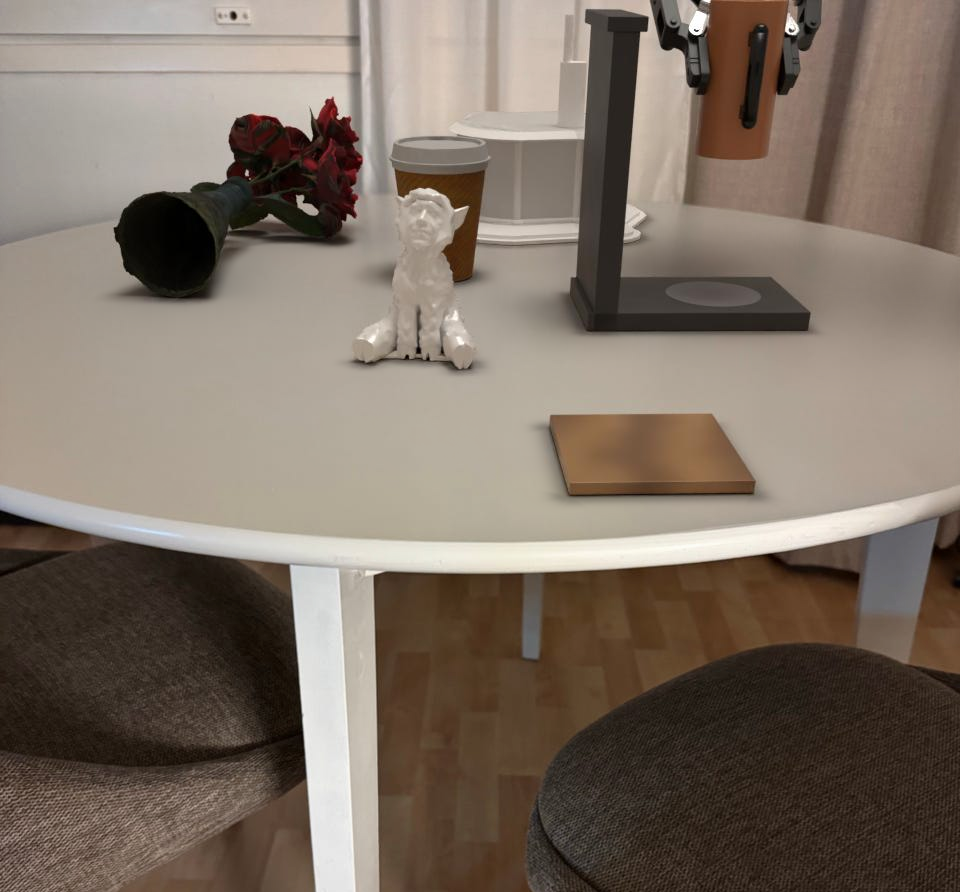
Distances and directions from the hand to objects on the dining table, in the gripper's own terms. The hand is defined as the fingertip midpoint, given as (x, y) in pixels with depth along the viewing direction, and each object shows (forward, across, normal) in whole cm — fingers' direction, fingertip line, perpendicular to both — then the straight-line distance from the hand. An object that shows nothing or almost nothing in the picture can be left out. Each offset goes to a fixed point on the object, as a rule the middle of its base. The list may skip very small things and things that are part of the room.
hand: (744, 87), depth 84 cm
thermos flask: (+2, 0, +5) cm, 5 cm away
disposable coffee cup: (+2, -24, +24) cm, 34 cm away
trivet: (+34, -12, -9) cm, 38 cm away
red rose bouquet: (-4, -43, +29) cm, 52 cm away
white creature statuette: (+19, -26, +6) cm, 33 cm away
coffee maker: (+11, -3, +14) cm, 18 cm away
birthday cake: (-16, -12, +42) cm, 47 cm away
